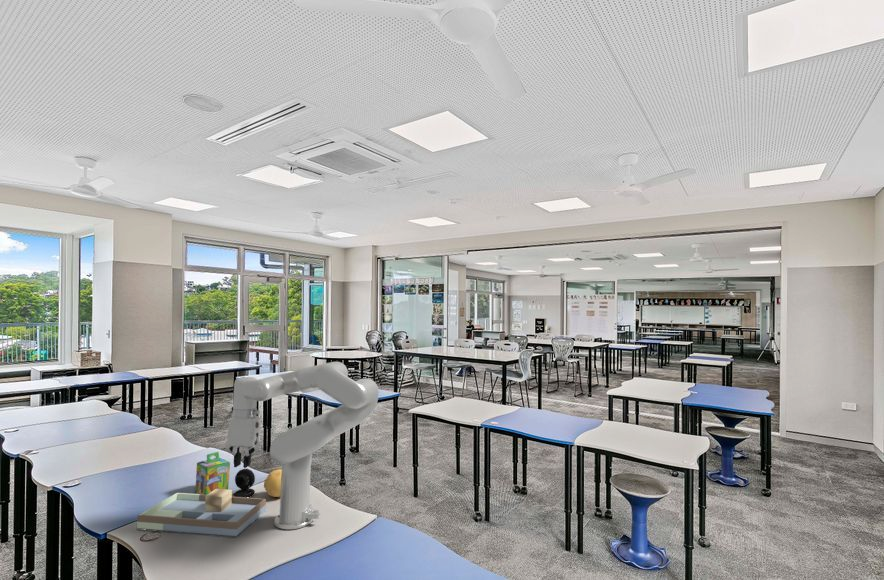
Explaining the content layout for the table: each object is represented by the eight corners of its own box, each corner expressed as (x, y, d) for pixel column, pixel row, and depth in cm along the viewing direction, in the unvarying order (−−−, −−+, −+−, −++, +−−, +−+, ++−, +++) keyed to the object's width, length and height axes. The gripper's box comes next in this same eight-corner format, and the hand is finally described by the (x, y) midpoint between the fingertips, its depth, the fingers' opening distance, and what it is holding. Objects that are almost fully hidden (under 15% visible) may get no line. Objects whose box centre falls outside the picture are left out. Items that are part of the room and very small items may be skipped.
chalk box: (205, 499, 163) (207, 459, 164) (194, 492, 168) (196, 453, 169) (229, 491, 170) (231, 453, 171) (218, 485, 176) (220, 448, 176)
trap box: (265, 511, 153) (265, 498, 154) (236, 537, 135) (237, 522, 136) (176, 505, 157) (177, 492, 157) (136, 529, 139) (137, 515, 139)
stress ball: (275, 492, 172) (256, 480, 167) (293, 472, 175) (275, 459, 170) (280, 506, 163) (260, 494, 159) (299, 484, 166) (280, 472, 162)
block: (231, 504, 153) (232, 489, 153) (221, 511, 147) (221, 496, 148) (215, 503, 154) (216, 488, 154) (204, 510, 148) (205, 495, 148)
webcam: (228, 498, 164) (230, 471, 164) (240, 490, 171) (241, 465, 172) (248, 500, 163) (249, 473, 163) (258, 492, 170) (260, 466, 171)
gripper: (271, 411, 155) (269, 464, 153) (229, 409, 156) (226, 461, 155) (261, 416, 147) (258, 471, 146) (216, 414, 149) (213, 468, 148)
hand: (242, 465), depth 151 cm, fingers open, 2 cm apart
